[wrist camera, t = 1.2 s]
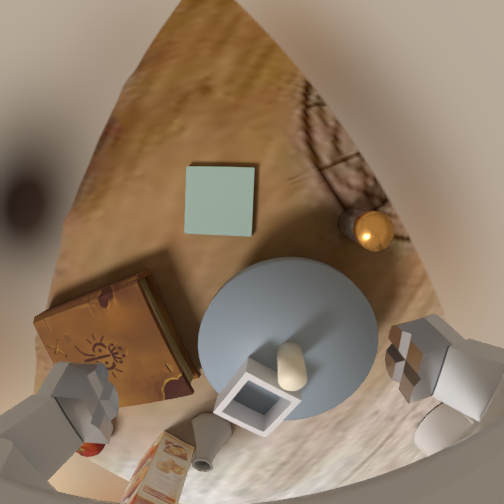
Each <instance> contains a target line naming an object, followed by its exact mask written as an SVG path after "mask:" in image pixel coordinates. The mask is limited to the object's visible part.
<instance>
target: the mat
mask: <svg viewBox="0 0 504 504" xmlns="http://www.w3.org/2000/svg"><path fill="white" fill-rule="evenodd" d="M254 175H255V168H252V167H213V166H187V169H186V194H185V233H186V234H208V235H230V236H250V237H252V221H253V198H254Z"/></svg>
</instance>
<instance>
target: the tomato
mask: <svg viewBox="0 0 504 504" xmlns="http://www.w3.org/2000/svg"><path fill="white" fill-rule="evenodd" d="M104 446H105V444H100V443H86V442H83V445H82V446H81V447H80V448H79V449H78V450H77V451H76V452H77V453H79V454H80V455H81V456H86V457H90V456H95V455H97V454H99V453H100V452H101V451H102V450H103V448H104Z"/></svg>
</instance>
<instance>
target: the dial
mask: <svg viewBox="0 0 504 504" xmlns="http://www.w3.org/2000/svg"><path fill="white" fill-rule="evenodd" d="M377 346H378V328H377V322H376V318H375V315H374V312H373V310H372V308H371V306H370V304H369V302H368V300H367V299H366V297H365V296H364V294H363V293H362V292H361V291H360V290H359V289H358V288H357V286H356V285H355V284H354V283H353V282H352V281H351V280H350V279H349V278H348V277H347V276H345V275H344V274H343V273H342V272H340V271H339V270H337V269H335V268H334V267H332V266H330V265H328V264H325V263H323V262H320V261H317V260H313V259H309V258H302V257H279V258H272V259H268V260H264V261H261V262H258V263H255V264H253V265H251V266H248V267H246V268H245V269H243V270H241V271H240V272H238V273H237V274H235V275H234V276H233V277H231V278H230V279H229V280H228V281H227V282H226V283H225V284H224V285H223V286H222V287H221V288H220V289H219V291H218V292H217V293H216V295H215V296H214V298H213V300H212V301H211V303H210V305H209V307H208V309H207V311H206V312H205V314H204V317H203V320H202V322H201V325H200V330H199V335H198V352H199V359H200V363H201V366H202V369H203V371H204V374H205V376H206V377H207V379H208V381H209V382H210V384H211V385H212V387H213V388H214V389H215V390H216V392H217V393H218V394H219V395H218V396H217V399H216V403H215V406H214V410H213V413H215V414H216V415H218V416H220V417H222V418H224V419H226V420H228V421H230V422H232V423H234V424H236V425H238V426H240V427H243V428H245V429H247V430H249V431H251V432H253V433H255V434H258V435H260V436H262V437H264V438H266V437H267V436H268V435H269V434H270V433H271V432H272V431H273V430H274V429H275V428H276V427H277V426H278V425H279V424H280V423H281V422H282V421H283V420H297V419H304V418H308V417H312V416H315V415H318V414H321V413H324V412H326V411H328V410H330V409H332V408H334V407H336V406H337V405H339V404H340V403H342V402H343V401H345V400H346V399H347V398H348V397H350V396H351V395H352V394H353V393H354V392H355V391H356V390H357V389H358V388H359V386H360V385H361V384H362V383H363V381H364V380H365V378H366V377H367V375H368V373H369V372H370V369H371V367H372V365H373V363H374V360H375V356H376V353H377Z"/></svg>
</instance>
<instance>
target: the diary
mask: <svg viewBox="0 0 504 504" xmlns="http://www.w3.org/2000/svg"><path fill="white" fill-rule="evenodd" d="M33 324H34V326H35V328H36V330H37V332H38V334H39V336H40V338H41V340H42V342H43V344H44V346H45V348H46V350H47V352H48V354H49V356H50V357H51V359H52V361H53V363H54V365H55V363H57V362H59V361H64V362H101V363H103V364H104V365H105V366H106V368H107V370H108V373H109V375H108V378H107V380H108V381H109V382H111V383H112V384H113V385H114V386H115V388H116V391H117V394H118V398H119V407H125V406H132V405H139V404H145V403H151V402H157V401H162V400H167V399H173V398H178V397H183V396H188V395H192V394H193V393H194V390H193V388H192V386H191V384H190V383H191V381H192V379H196V378H199V377H200V376H199V374H198V372H197V370H196V368H195V366H194V364H193V362H192V360H191V358H190V356H189V354H188V352H187V350H186V348H185V346H184V344H183V342H182V340H181V338H180V336H179V334H178V332H177V330H176V328H175V326H174V324H173V322H172V320H171V317H170V315H169V313H168V311H167V309H166V307H165V304H164V302H163V300H162V298H161V295H160V293H159V291H158V289H157V286H156V284H155V282H154V279H153V277H152V275H151V272H150V271H149V270H148V269H147V270H144V271H141V272H139V273H136V274H134V275H131V276H129V277H126V278H124V279H121V280H119V281H116V282H114V283H111V284H109V285H106V286H104V287H101V288H99V289H96V290H94V291H92V292H89V293H87V294H84V295H82V296H79V297H77V298H74V299H72V300H70V301H67V302H65V303H62V304H60V305H57V306H55V307H53V308H50V309H48V310H46V311H44V312H42V313H41V314H39V315H37V316H35V317H34V322H33Z"/></svg>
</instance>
